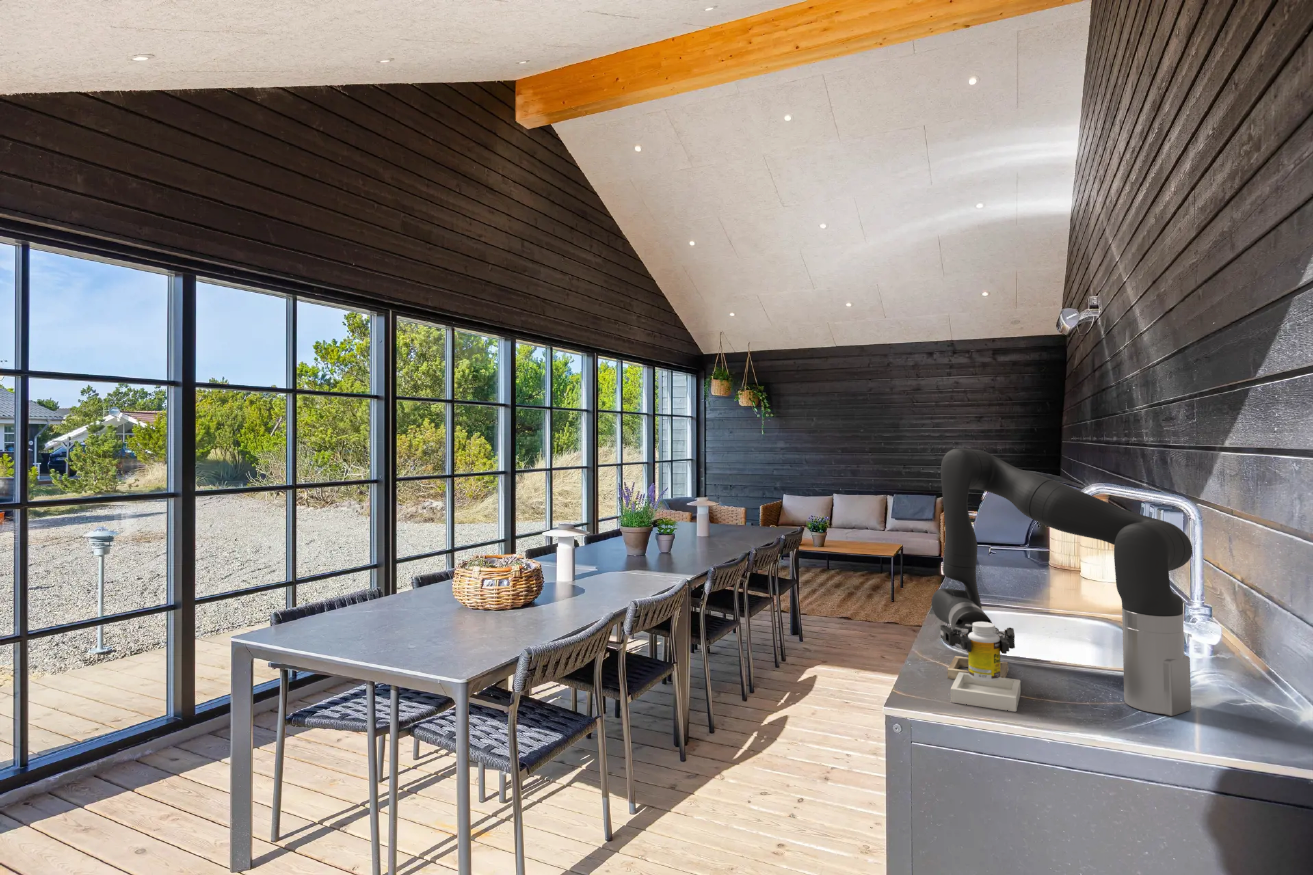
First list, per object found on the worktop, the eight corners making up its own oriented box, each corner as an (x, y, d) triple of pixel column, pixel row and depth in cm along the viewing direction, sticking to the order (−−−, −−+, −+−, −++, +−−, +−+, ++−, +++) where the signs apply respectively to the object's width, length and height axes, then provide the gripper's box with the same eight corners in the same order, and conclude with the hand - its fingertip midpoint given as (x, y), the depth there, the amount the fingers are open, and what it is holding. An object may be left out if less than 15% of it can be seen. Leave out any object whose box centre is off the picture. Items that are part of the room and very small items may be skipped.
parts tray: (1020, 692, 142) (1020, 679, 142) (1016, 711, 132) (1015, 697, 132) (959, 684, 147) (959, 671, 147) (950, 702, 138) (950, 688, 138)
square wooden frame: (1008, 670, 155) (1007, 662, 155) (1003, 685, 146) (1003, 676, 146) (955, 664, 160) (955, 655, 160) (947, 678, 151) (947, 669, 151)
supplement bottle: (998, 684, 136) (997, 629, 136) (966, 679, 139) (965, 625, 139) (1002, 675, 141) (1001, 622, 141) (971, 671, 144) (970, 618, 144)
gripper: (933, 604, 156) (945, 626, 139) (1006, 607, 152) (1028, 629, 136) (933, 640, 156) (946, 665, 139) (1007, 643, 152) (1029, 669, 136)
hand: (986, 647), depth 138 cm, fingers closed on supplement bottle, 5 cm apart
